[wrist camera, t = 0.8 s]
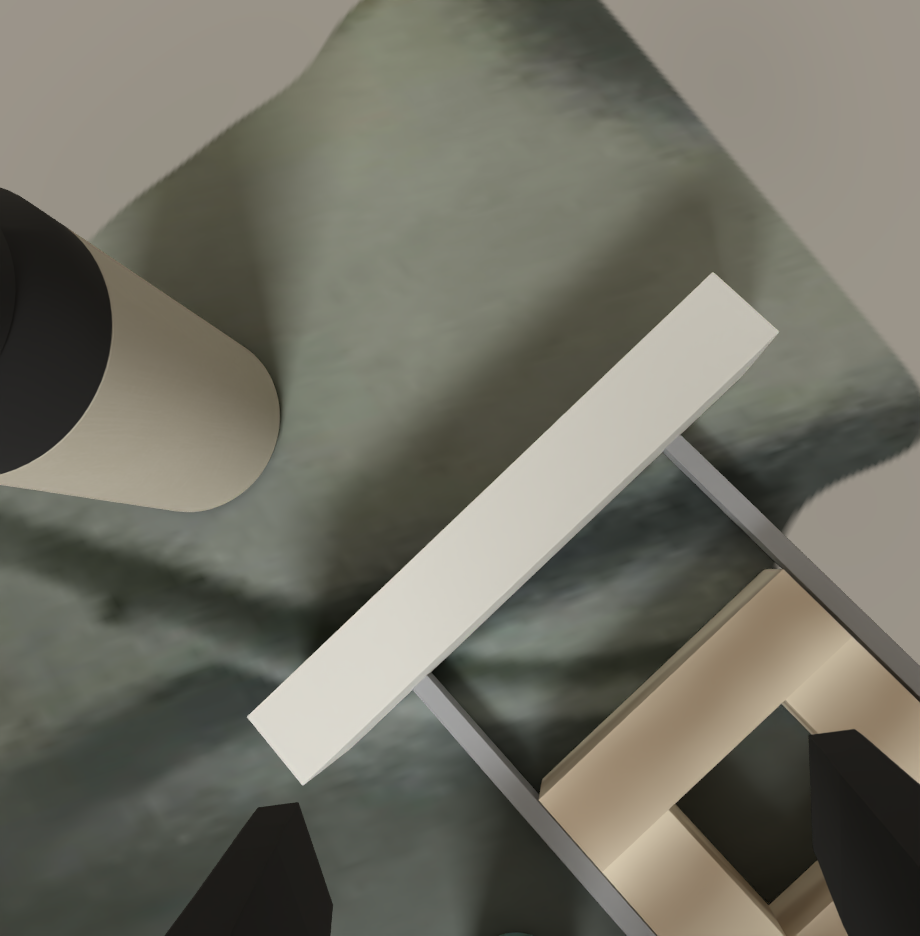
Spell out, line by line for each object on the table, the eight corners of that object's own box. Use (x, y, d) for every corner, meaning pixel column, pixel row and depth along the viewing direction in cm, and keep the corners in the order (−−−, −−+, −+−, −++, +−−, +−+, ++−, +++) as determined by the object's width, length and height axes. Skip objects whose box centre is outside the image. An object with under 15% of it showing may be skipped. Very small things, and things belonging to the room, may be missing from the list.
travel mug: (316, 389, 35) (53, 205, 18) (221, 546, 35) (-141, 520, 17) (173, 305, 37) (-201, 60, 19) (81, 456, 37) (-384, 347, 19)
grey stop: (1158, 760, 29) (1307, 808, 23) (711, 1176, 29) (744, 1328, 23) (689, 324, 33) (713, 271, 27) (305, 691, 34) (246, 717, 28)
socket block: (1011, 811, 29) (1059, 839, 26) (770, 1036, 30) (791, 1087, 27) (764, 569, 32) (783, 569, 29) (542, 778, 32) (538, 799, 29)
